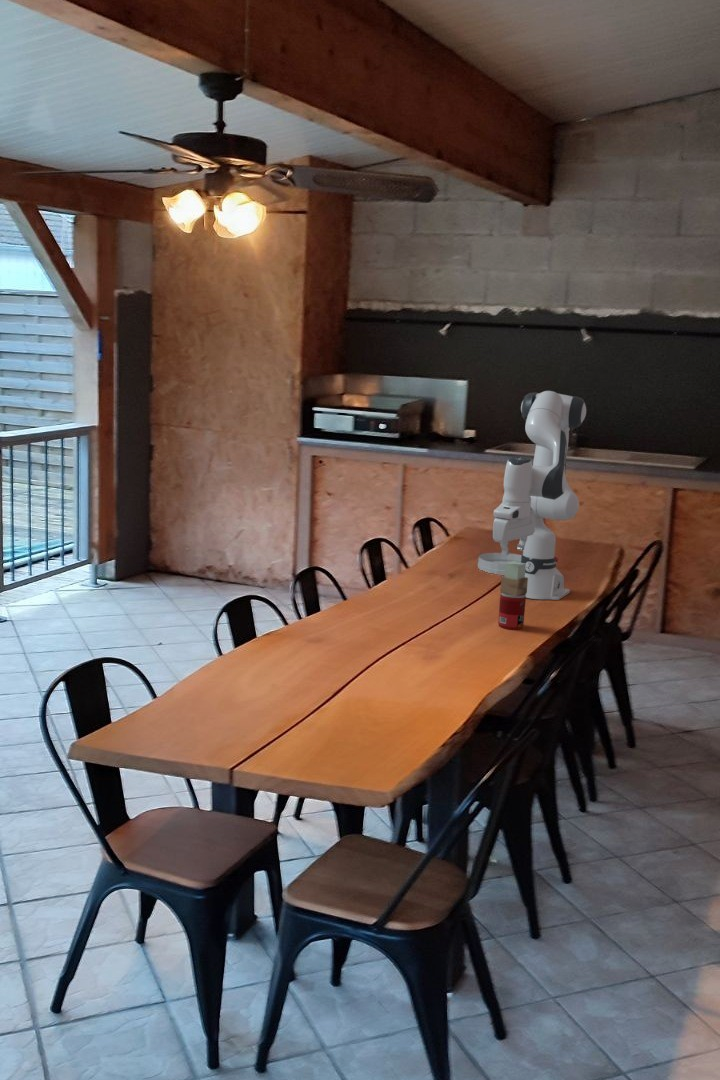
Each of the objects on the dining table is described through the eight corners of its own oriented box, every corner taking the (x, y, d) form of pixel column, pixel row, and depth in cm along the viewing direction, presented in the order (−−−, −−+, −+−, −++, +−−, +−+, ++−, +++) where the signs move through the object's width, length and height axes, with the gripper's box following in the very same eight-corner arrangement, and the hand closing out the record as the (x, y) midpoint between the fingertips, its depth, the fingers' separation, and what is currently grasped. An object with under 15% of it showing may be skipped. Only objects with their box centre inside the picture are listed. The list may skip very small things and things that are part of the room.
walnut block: (510, 589, 338) (511, 574, 337) (526, 593, 334) (528, 577, 333) (500, 592, 333) (501, 577, 332) (516, 596, 330) (517, 580, 329)
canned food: (522, 631, 331) (525, 596, 329) (496, 628, 333) (499, 594, 331) (524, 624, 339) (526, 591, 337) (498, 622, 340) (501, 588, 338)
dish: (475, 574, 410) (476, 561, 409) (479, 562, 431) (479, 550, 430) (533, 579, 406) (534, 566, 405) (534, 567, 428) (535, 555, 427)
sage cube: (512, 575, 336) (513, 561, 335) (524, 577, 333) (525, 563, 332) (504, 577, 332) (505, 563, 332) (517, 579, 330) (518, 565, 329)
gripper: (523, 504, 341) (520, 546, 344) (490, 511, 325) (487, 555, 328) (541, 506, 337) (538, 549, 340) (508, 514, 322) (505, 559, 324)
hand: (513, 552), depth 334 cm, fingers open, 8 cm apart
